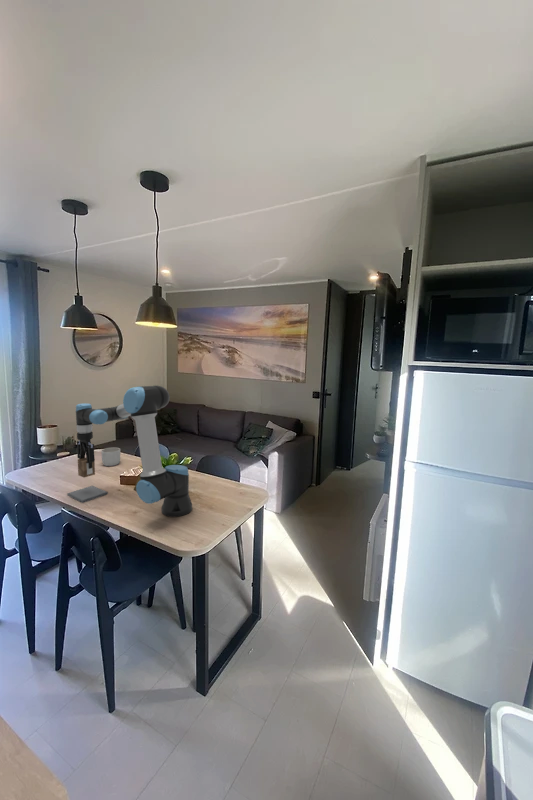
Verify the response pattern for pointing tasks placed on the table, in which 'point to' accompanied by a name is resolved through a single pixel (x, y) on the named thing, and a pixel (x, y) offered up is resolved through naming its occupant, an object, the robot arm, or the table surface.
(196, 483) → the table surface
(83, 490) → the slate board
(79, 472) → the walnut block
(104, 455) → the planter
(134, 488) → the rock
